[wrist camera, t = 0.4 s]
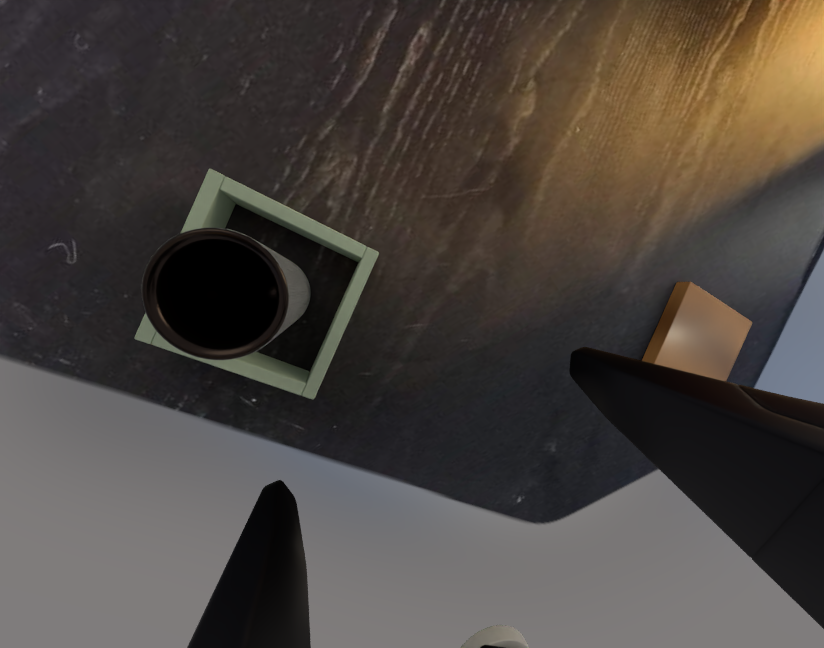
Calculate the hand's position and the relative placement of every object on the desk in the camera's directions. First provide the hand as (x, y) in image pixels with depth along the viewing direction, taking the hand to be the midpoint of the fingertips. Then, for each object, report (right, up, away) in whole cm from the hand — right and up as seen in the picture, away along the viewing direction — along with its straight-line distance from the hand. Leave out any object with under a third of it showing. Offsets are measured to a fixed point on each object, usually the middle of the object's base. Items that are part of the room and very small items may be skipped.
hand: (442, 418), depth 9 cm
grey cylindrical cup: (-10, +5, +12) cm, 16 cm away
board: (+25, +1, +21) cm, 33 cm away
